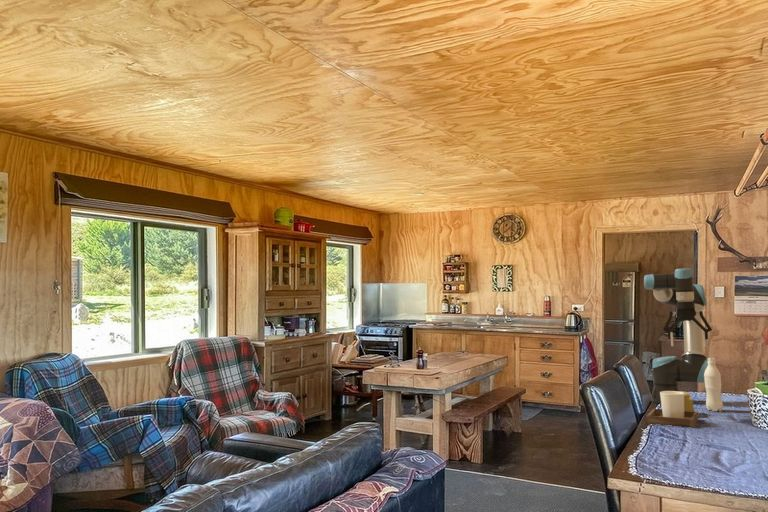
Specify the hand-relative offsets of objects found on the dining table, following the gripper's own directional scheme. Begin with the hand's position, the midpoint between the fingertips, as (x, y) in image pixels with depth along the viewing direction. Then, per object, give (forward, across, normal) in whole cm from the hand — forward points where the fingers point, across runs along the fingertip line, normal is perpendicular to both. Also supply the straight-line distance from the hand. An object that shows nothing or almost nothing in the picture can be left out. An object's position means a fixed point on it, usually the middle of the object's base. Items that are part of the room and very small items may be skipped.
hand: (688, 346), depth 276 cm
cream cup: (+31, -6, -21) cm, 38 cm away
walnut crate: (+32, -6, -20) cm, 38 cm away
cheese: (+32, -6, -2) cm, 33 cm away
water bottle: (+32, +8, +14) cm, 36 cm away
